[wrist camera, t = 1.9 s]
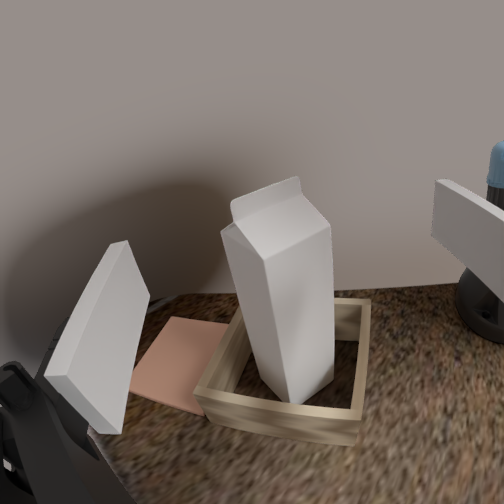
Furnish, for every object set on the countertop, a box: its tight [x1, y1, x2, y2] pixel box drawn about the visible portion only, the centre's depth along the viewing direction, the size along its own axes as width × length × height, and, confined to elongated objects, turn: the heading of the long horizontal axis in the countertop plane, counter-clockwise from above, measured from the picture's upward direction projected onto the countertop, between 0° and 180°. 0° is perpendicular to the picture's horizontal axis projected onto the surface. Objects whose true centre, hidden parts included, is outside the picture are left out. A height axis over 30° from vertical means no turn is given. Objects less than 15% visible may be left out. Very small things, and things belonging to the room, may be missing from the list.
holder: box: [192, 298, 371, 446], centre depth 30 cm, size 15×15×6 cm
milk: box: [221, 176, 334, 404], centre depth 26 cm, size 6×6×22 cm
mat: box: [129, 316, 229, 416], centre depth 37 cm, size 12×14×1 cm
